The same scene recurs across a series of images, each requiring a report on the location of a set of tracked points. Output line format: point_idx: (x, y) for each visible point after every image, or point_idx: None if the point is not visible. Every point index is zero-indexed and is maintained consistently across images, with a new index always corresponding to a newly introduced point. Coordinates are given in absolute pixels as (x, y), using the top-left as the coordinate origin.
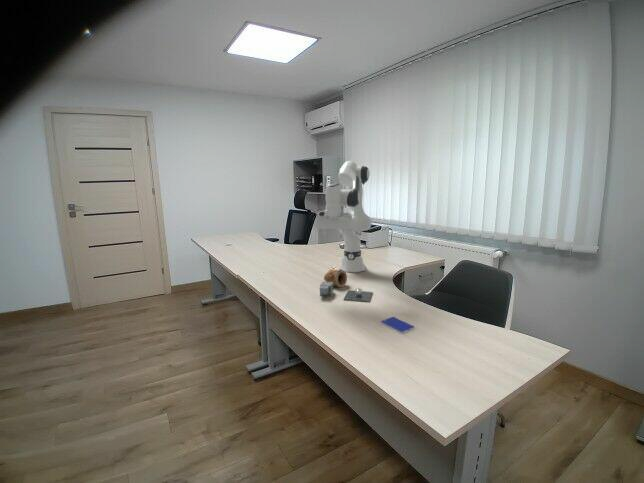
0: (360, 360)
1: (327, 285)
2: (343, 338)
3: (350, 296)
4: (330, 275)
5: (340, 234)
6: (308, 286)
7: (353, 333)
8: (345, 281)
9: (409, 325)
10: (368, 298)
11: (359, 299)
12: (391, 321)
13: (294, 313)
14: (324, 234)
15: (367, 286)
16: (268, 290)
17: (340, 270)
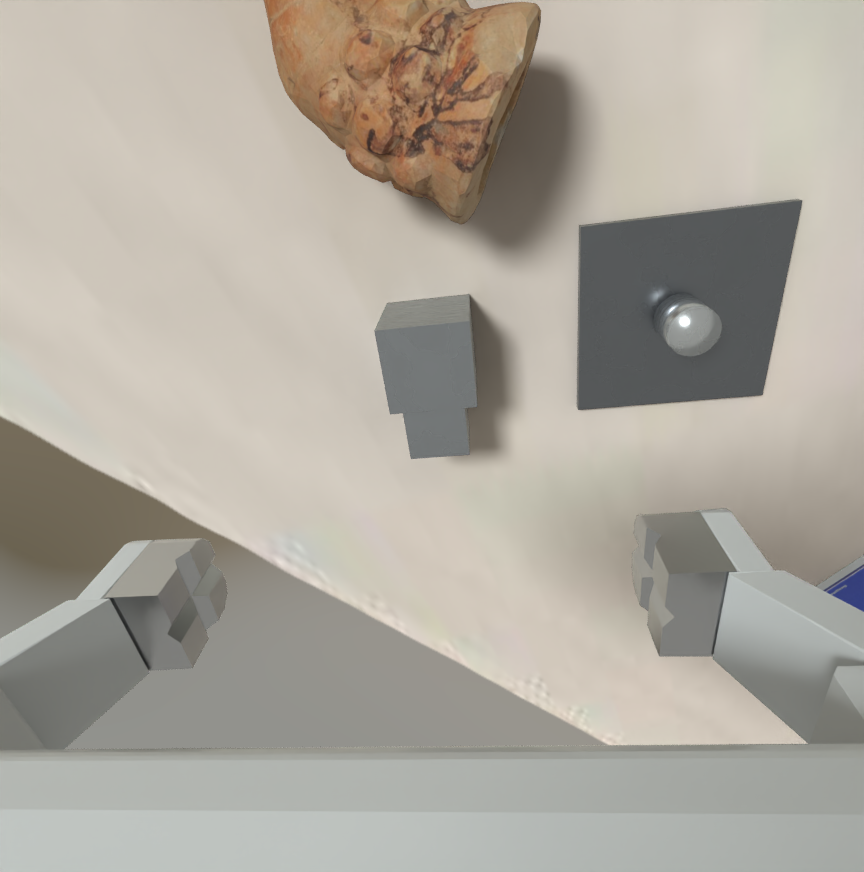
0: None
1: (449, 408)
2: (643, 707)
3: (618, 353)
4: (381, 169)
5: (675, 643)
6: (220, 225)
7: (677, 678)
8: (527, 69)
9: None
10: (756, 350)
11: (689, 385)
12: (860, 597)
13: (382, 605)
14: (148, 656)
15: (757, 8)
16: (34, 397)
17: (489, 126)
